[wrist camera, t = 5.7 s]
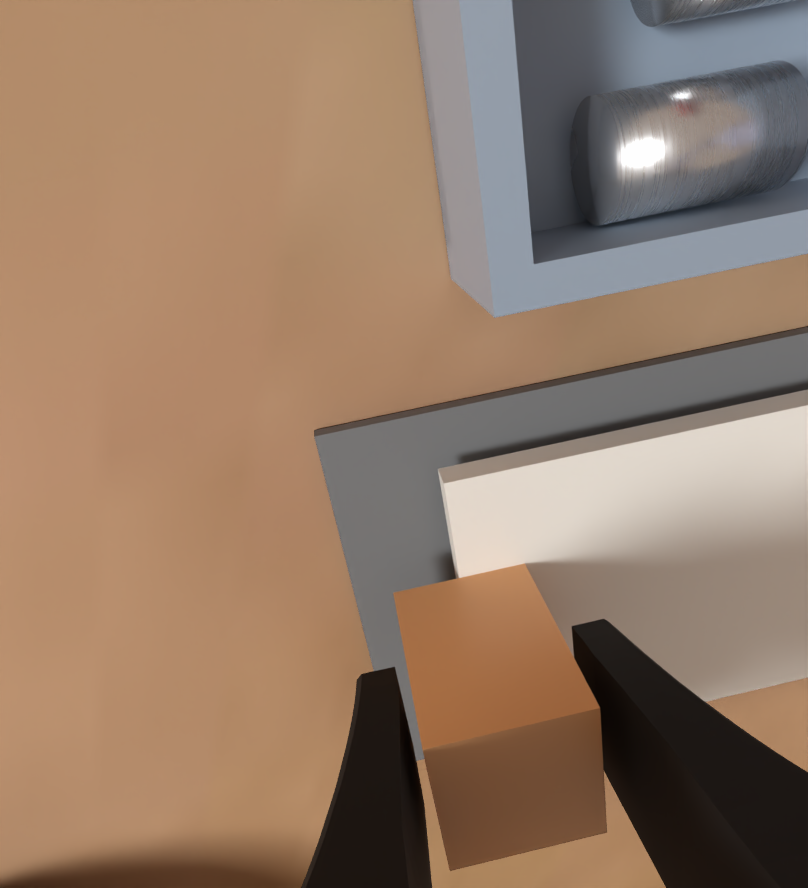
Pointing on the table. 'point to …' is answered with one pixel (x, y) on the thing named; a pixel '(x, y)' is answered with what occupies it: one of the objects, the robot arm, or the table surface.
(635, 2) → the dowel
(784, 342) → the mat
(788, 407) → the lid
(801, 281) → the table surface
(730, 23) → the tub
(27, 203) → the table surface
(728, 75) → the dowel
